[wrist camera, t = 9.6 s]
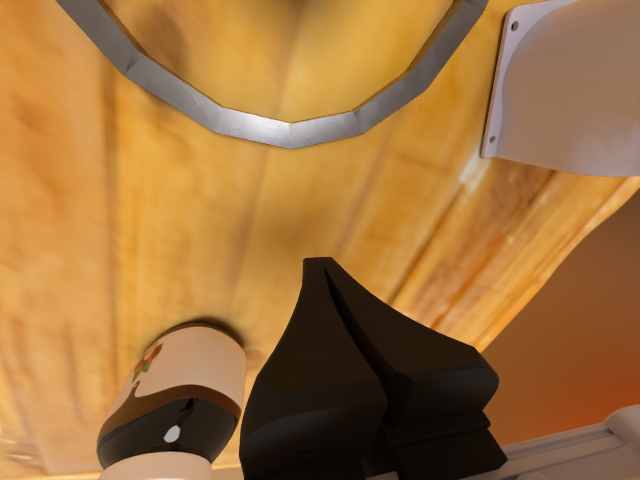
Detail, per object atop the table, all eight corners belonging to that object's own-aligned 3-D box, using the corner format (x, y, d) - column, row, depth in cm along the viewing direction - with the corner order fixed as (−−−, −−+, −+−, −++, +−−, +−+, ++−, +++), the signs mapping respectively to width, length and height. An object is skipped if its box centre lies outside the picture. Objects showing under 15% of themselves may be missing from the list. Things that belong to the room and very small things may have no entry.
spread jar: (212, 302, 23) (167, 455, 13) (277, 358, 28) (280, 494, 18) (113, 357, 24) (0, 538, 14) (194, 400, 30) (156, 550, 20)
